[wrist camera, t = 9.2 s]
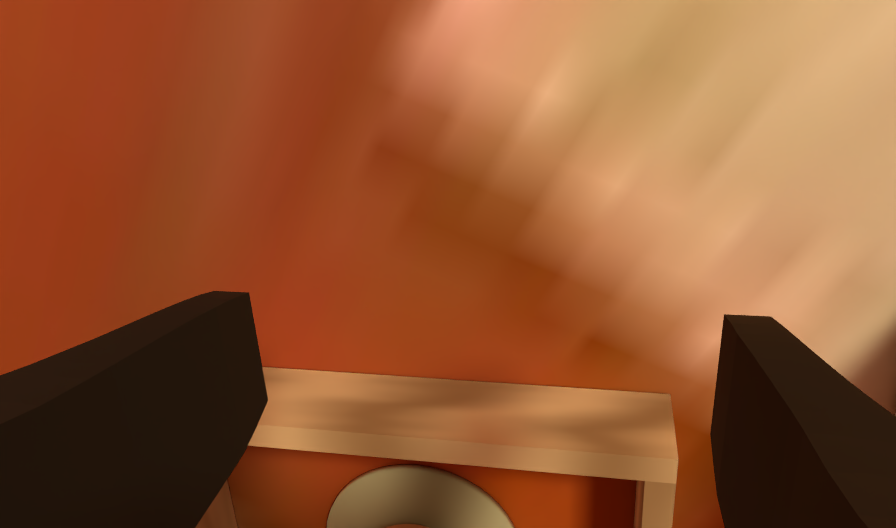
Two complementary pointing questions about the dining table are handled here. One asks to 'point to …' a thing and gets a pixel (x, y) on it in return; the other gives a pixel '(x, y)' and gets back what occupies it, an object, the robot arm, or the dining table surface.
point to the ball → (407, 526)
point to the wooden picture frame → (462, 443)
